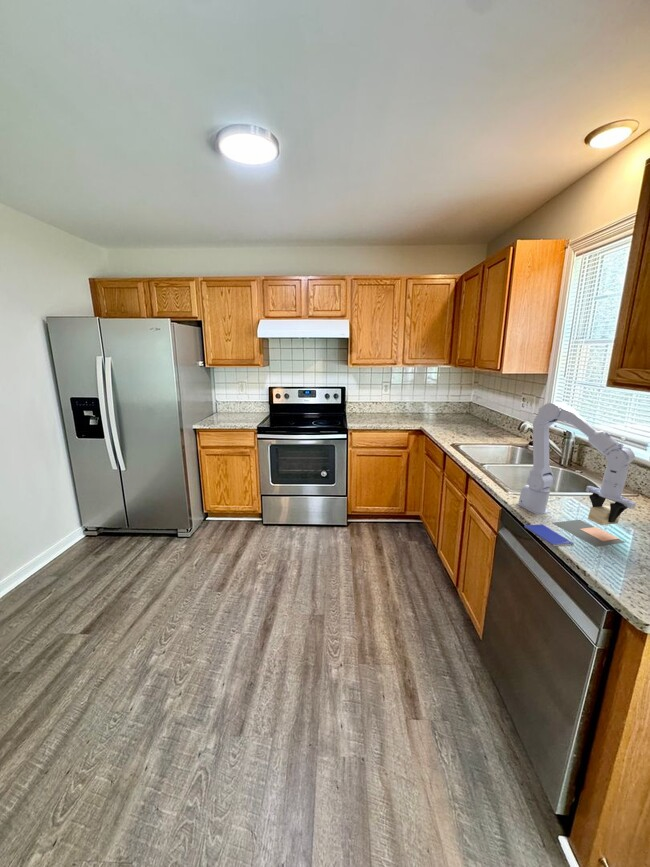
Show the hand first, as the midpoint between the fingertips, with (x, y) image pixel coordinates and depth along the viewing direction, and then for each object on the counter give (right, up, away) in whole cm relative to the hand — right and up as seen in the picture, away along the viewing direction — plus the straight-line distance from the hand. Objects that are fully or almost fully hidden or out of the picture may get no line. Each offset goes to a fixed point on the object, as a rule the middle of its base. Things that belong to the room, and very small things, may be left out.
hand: (603, 518), depth 116 cm
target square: (0, -6, +1) cm, 6 cm away
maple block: (0, -1, 0) cm, 1 cm away
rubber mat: (-4, -6, +3) cm, 8 cm away
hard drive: (-20, -7, -1) cm, 22 cm away
